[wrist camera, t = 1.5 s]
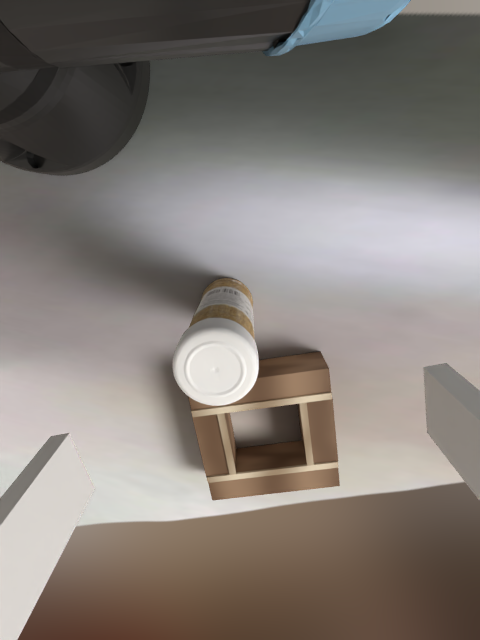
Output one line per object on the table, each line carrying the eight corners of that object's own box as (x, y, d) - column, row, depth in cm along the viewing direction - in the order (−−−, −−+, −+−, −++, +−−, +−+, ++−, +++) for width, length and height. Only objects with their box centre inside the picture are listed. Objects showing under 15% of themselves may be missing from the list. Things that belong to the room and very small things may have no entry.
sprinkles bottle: (196, 318, 31) (161, 396, 18) (209, 269, 30) (181, 317, 17) (245, 332, 32) (244, 418, 19) (260, 285, 30) (271, 343, 17)
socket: (215, 473, 36) (211, 501, 33) (191, 369, 33) (185, 388, 29) (331, 459, 36) (340, 486, 32) (321, 351, 32) (330, 369, 28)
